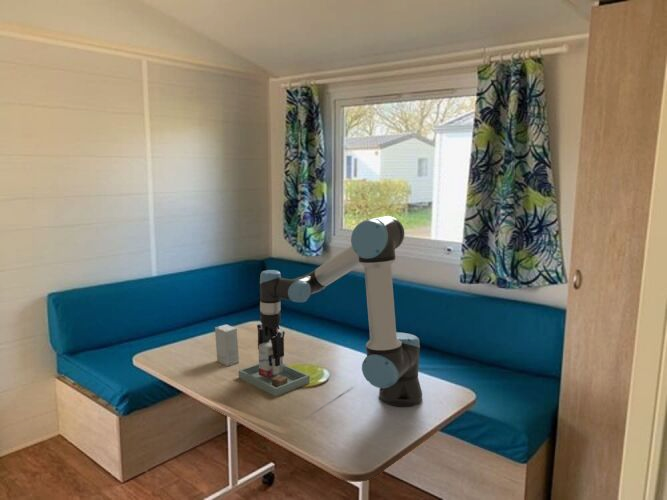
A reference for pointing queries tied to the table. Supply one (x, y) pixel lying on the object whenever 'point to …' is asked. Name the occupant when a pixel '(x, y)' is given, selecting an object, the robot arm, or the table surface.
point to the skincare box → (227, 345)
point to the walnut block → (279, 381)
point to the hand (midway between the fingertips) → (270, 370)
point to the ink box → (267, 360)
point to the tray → (265, 383)
